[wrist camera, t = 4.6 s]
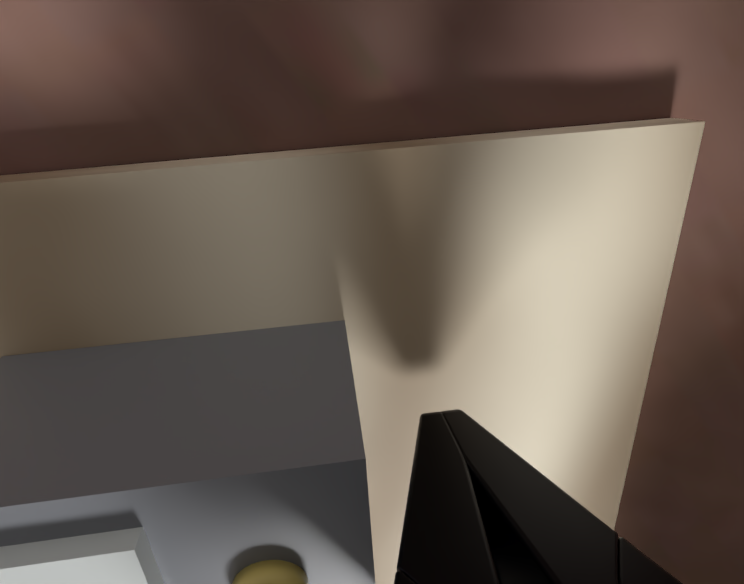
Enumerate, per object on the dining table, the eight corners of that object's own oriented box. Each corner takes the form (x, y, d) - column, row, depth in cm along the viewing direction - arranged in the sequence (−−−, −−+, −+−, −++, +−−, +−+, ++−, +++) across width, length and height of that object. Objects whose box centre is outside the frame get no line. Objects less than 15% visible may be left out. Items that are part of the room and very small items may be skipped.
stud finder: (345, 320, 9) (368, 477, 5) (358, 478, 10) (383, 675, 7) (2, 356, 8) (-222, 558, 5) (75, 516, 10) (-49, 751, 6)
